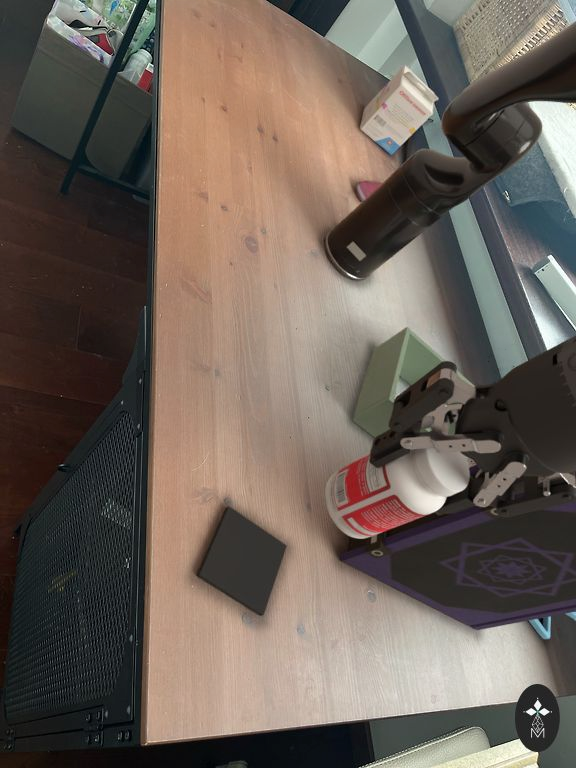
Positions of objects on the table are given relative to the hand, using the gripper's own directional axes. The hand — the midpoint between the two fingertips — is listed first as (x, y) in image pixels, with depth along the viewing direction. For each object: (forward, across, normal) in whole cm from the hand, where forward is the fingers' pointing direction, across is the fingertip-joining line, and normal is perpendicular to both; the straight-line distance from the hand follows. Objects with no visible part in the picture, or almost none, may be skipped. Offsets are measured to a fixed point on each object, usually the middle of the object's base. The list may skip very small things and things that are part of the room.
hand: (405, 479), depth 49 cm
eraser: (+22, +1, -74) cm, 77 cm away
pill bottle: (+7, 0, 0) cm, 7 cm away
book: (+23, -22, -9) cm, 33 cm away
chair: (+23, -44, -18) cm, 52 cm away
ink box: (+22, +6, -94) cm, 96 cm away
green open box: (+22, -15, -32) cm, 41 cm away
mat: (+23, 0, +2) cm, 23 cm away
